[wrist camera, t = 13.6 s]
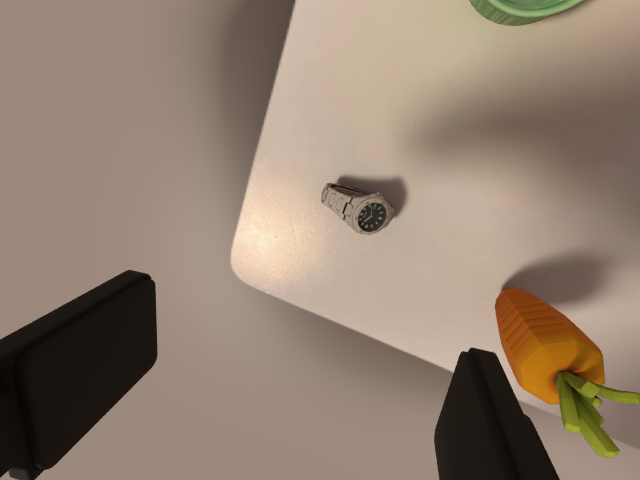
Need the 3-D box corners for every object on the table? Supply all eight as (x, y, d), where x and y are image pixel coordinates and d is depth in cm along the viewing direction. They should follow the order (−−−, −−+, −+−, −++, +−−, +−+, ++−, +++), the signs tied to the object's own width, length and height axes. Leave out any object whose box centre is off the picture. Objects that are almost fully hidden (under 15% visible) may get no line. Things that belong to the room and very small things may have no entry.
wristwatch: (385, 229, 31) (384, 247, 26) (321, 203, 31) (308, 217, 26) (401, 192, 29) (403, 205, 25) (334, 166, 30) (323, 174, 25)
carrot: (483, 262, 30) (565, 381, 16) (545, 272, 29) (687, 406, 15) (469, 311, 32) (532, 458, 18) (527, 322, 31) (640, 485, 17)
